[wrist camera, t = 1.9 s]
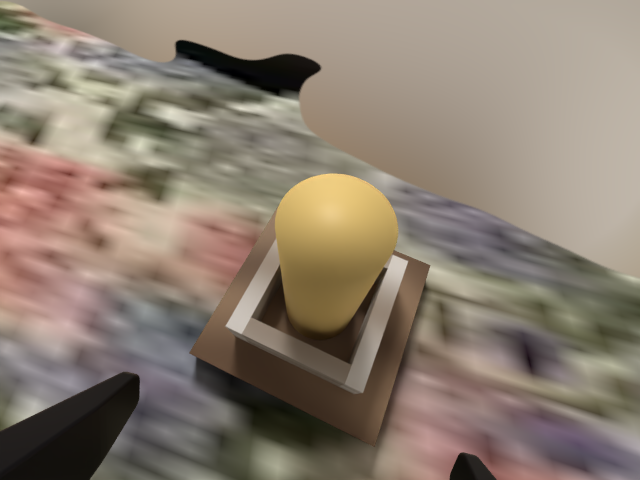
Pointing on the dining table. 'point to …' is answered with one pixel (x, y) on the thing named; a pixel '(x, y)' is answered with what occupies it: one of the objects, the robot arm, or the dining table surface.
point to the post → (331, 250)
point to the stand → (315, 341)
